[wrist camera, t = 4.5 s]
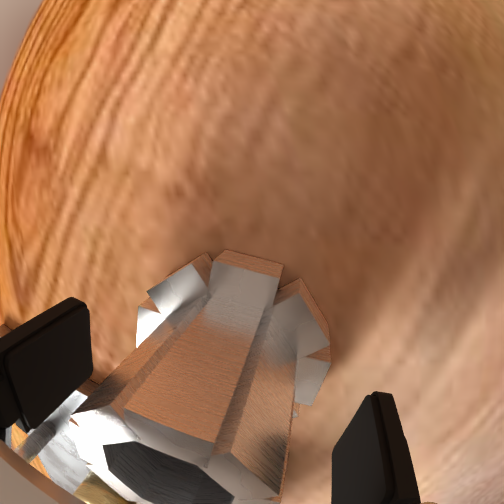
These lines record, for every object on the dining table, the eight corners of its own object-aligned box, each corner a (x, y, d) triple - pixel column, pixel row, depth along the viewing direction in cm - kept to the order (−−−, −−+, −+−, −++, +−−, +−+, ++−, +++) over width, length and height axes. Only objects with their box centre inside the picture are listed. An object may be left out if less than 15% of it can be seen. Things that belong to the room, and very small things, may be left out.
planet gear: (350, 282, 10) (399, 433, 3) (294, 420, 12) (274, 555, 5) (164, 232, 11) (13, 301, 4) (150, 375, 13) (68, 479, 6)
